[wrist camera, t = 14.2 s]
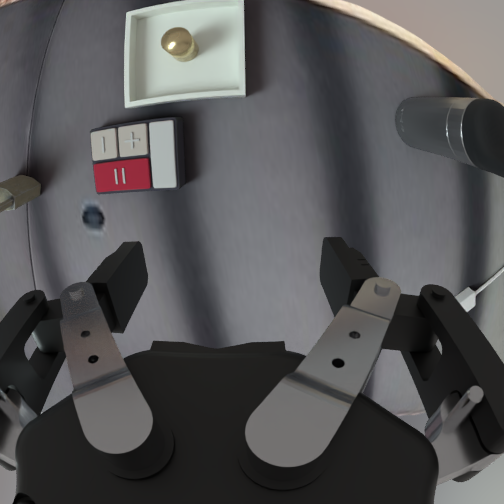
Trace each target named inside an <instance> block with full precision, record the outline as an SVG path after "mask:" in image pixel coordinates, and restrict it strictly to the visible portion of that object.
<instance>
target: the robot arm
mask: <svg viewBox="0 0 504 504" xmlns="http://www.w3.org/2000/svg"><path fill="white" fill-rule="evenodd" d="M396 127H397V131H398V133H399V135H400V137H401V138H402V140H403V141H404V142H405V143H406V144H407V145H409V146H411V147H413V148H416V149H420V150H424V151H427V152H431V153H434V154H437V155H441V156H444V157H447V158H451V159H454V160H457V161H460V162H463V163H466V164H469V165H472V166H475V167H477V168H480V169H483V170H486V171H488V172H491V173H494V174H496V175H499V176H501V177H504V107H503V106H502V105H501V104H500V103H498V102H496V101H494V100H490V99H480V98H458V97H416V98H408V99H406V100H404V101H403V102H402V103H401V104H400V106H399V107H398V109H397V112H396ZM320 281H321V285H322V287H323V289H324V292H325V294H326V297H327V299H328V302H329V304H330V307H331V309H332V312H333V314H334V317H335V318H334V319H333V321H332V322H331V323H330V325H329V326H328V328H327V329H326V331H325V332H324V333H323V335H322V336H321V337H320V339H319V340H318V341H317V343H316V344H315V346H314V347H313V348H312V350H311V351H310V352H309V354H308V355H307V356H305V355H302V354H299V353H295V352H291V351H286V350H285V343H284V341H278V342H251V343H246V344H241V345H236V346H230V347H225V348H219V349H213V348H208V347H203V346H199V345H194V344H190V343H185V342H168V341H153V343H152V346H151V349H150V350H146V351H142V352H138V353H135V354H132V355H130V356H128V357H126V358H124V359H123V358H122V356H121V353H120V351H119V349H118V347H117V345H116V343H115V340H114V338H113V336H112V334H111V333H112V332H113V333H124V331H125V328H126V326H127V324H128V322H129V320H130V318H131V316H132V314H133V312H134V310H135V308H136V306H137V304H138V302H139V300H140V298H141V296H142V294H143V292H144V290H145V288H146V286H147V283H148V273H147V268H146V263H145V258H144V253H143V248H142V244H141V243H140V242H139V241H137V242H123V243H122V245H121V246H120V247H119V248H118V249H117V250H116V252H115V253H113V254H111V255H110V256H108V257H106V258H105V259H104V260H103V262H102V263H101V265H99V266H98V268H97V270H95V271H94V272H93V274H92V275H91V276H90V277H89V278H88V280H87V281H86V282H79V283H75V284H72V285H70V286H68V287H67V288H66V289H64V290H63V292H62V293H61V295H60V299H55V300H50V301H47V299H46V296H45V294H44V292H43V291H41V290H34V291H30V292H28V293H26V294H24V295H23V296H22V297H21V298H20V299H19V300H18V301H17V302H16V304H15V305H14V306H13V307H12V308H11V310H10V311H9V312H8V313H7V315H6V316H5V317H4V318H3V320H2V321H1V322H0V465H1V466H3V467H4V468H5V469H7V470H11V471H12V470H16V474H17V485H16V496H15V499H14V502H13V504H434V495H435V490H436V486H437V485H439V484H442V483H444V482H447V481H449V480H451V479H452V480H454V481H457V482H464V481H467V480H469V479H471V478H472V477H473V476H475V475H476V474H478V473H479V472H480V471H482V470H483V469H484V468H486V467H487V466H488V465H490V464H491V463H492V462H493V461H495V460H496V459H497V458H499V457H500V456H501V455H502V454H503V453H504V364H503V362H502V361H501V359H500V358H499V356H498V355H497V353H496V352H495V350H494V349H493V347H492V346H491V344H490V343H489V342H488V340H487V339H486V337H485V336H484V335H483V333H482V332H481V330H480V329H479V328H478V326H477V325H476V324H475V322H474V321H473V320H472V318H471V317H470V316H469V314H468V313H467V312H466V311H465V309H464V308H463V307H462V306H461V304H460V303H459V302H458V301H457V299H456V298H455V297H454V296H453V295H452V293H451V292H450V291H448V290H447V289H445V288H444V287H441V286H438V285H433V284H429V285H425V286H423V287H422V289H421V292H420V295H419V296H415V295H407V294H401V289H400V287H399V286H398V285H397V284H396V283H395V282H393V281H391V280H389V279H386V278H381V277H379V276H378V275H377V273H376V272H375V271H374V269H373V268H372V267H371V265H369V263H368V261H367V260H366V259H365V257H364V256H363V255H362V254H361V253H360V252H359V251H357V250H355V249H354V248H349V247H348V246H347V244H346V243H345V241H344V240H343V239H342V238H341V237H325V238H324V239H323V245H322V255H321V264H320ZM30 335H32V337H33V339H34V341H35V342H36V344H37V348H36V349H35V351H34V353H33V354H32V356H31V358H30V360H29V361H28V359H27V357H26V356H25V352H24V346H25V343H26V341H27V340H28V338H29V337H30ZM438 339H439V341H440V342H441V345H442V355H441V353H440V351H439V350H438V348H437V346H436V342H437V340H438ZM382 349H390V350H400V351H401V353H402V356H403V358H404V360H405V362H406V364H407V367H408V369H409V371H410V374H411V376H412V378H413V381H414V383H415V385H416V388H417V390H418V393H419V395H420V398H421V400H422V403H423V405H424V408H425V410H426V413H427V416H428V418H429V420H428V421H427V423H426V426H425V436H424V435H423V434H422V433H420V432H419V431H418V430H416V429H415V428H413V427H412V426H410V425H409V424H407V423H406V422H404V421H403V420H401V419H400V418H398V417H397V416H395V415H394V414H392V413H391V412H389V411H388V410H386V409H385V408H383V407H382V406H380V405H379V404H377V403H376V402H374V401H373V400H371V399H370V398H368V397H367V396H366V395H364V394H363V391H364V388H365V386H366V384H367V382H368V380H369V378H370V376H371V373H372V371H373V369H374V367H375V364H376V362H377V360H378V358H379V355H380V353H381V350H382ZM65 358H66V359H67V364H68V368H69V372H70V376H71V380H72V384H73V388H74V390H73V391H72V394H70V395H69V396H67V397H66V398H64V399H63V400H61V401H60V402H58V403H57V404H55V405H54V406H52V407H51V408H49V409H48V410H46V411H45V412H43V413H42V414H41V411H42V409H43V406H44V404H45V401H46V399H47V397H48V394H49V392H50V390H51V388H52V385H53V383H54V381H55V379H56V377H57V374H58V372H59V370H60V368H61V366H62V364H63V362H64V360H65Z"/></svg>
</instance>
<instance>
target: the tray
mask: <svg viewBox="0 0 504 504" xmlns="http://www.w3.org/2000/svg"><path fill="white" fill-rule="evenodd" d="M174 27H182V28H185V29H187V30H188V31H189V33H190V34H191V36H192V37H193V38H194V40H195V41H196V43H197V44H198V47H199V51H198V54H197V55H196V57H195V58H194V59H192V60H190V61H187V62H180V61H178V60H176V59H175V58H174V57H172V56H171V55H170V54H169V53H168V52H166V51H165V50H164V49H163V48H162V46H161V39H162V36H163V35H164V34H165V32H167V31H168V30H169V29H171V28H174ZM124 93H125V108H139V107H145V106H151V105H158V104H165V103H172V102H181V101H191V100H202V99H215V98H235V97H246V96H245V42H244V0H185V1H178V2H172V3H166V4H161V5H156V6H151V7H147V8H142V9H138V10H134V11H130V12H127V14H126V29H125V52H124Z"/></svg>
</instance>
